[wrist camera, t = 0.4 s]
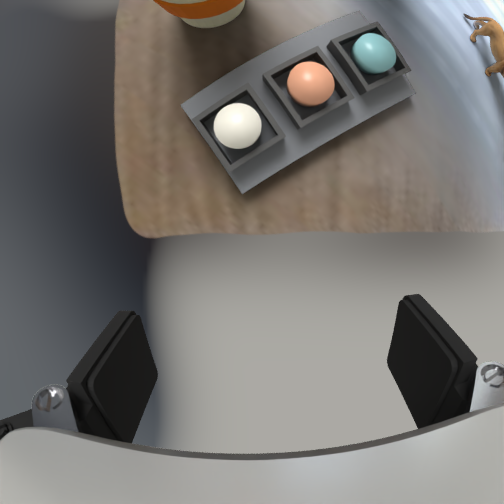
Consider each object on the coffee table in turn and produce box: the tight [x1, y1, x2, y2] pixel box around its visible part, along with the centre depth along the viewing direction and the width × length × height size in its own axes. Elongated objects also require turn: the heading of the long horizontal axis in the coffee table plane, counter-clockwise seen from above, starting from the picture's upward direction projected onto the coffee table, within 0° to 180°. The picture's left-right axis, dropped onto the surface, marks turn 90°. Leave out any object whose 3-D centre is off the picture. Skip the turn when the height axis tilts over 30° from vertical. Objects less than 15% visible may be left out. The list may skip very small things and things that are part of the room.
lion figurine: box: [464, 14, 504, 77], centre depth 21 cm, size 15×5×9 cm, turn 31°
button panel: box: [181, 11, 416, 194], centre depth 28 cm, size 26×13×4 cm, turn 123°
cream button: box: [214, 103, 261, 149], centre depth 28 cm, size 5×5×2 cm
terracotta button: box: [286, 62, 335, 107], centre depth 26 cm, size 5×5×2 cm
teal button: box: [351, 33, 396, 75], centre depth 24 cm, size 5×5×2 cm
